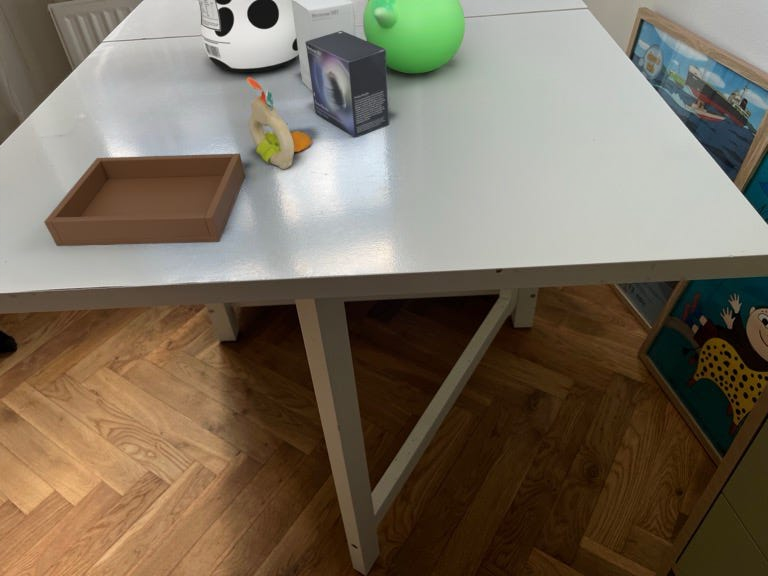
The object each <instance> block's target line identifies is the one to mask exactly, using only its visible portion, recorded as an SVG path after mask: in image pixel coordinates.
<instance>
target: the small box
mask: <svg viewBox="0 0 768 576" xmlns="http://www.w3.org/2000/svg"><path fill="white" fill-rule="evenodd" d="M305 43H306V48H307V56H308V63H309V70H310V76H311V84H312V91H313V92H312V91H311V92H312V98H313V105H314V113H315V114H316V115H318V116H319V117H321V118H323V119H324V120H326V121H327V122H329V123H331V124H332V125H334V126H336V127H337V128H339V129H341V130H342V131H344V132H345V133H347V134H349V135H350V136H352V137H353V138H357V137H359V136H362V135H366V134H367V133H370V132H373V131H376V130H379V129H381V128H384V127H386V126H389V125H390V117H389V116H390V115H389V102H388V99H389V98H388V81H387V80H388V79H387V66H386V49H385V48H382V47H380V46H377V45H375V44H373V43H370V42H368V41H367V40H366V39H363V38H361V37H358V36H353V35H351V34H348V33H346V32H344V31H339V32H335V33H332V34H329V35H325V36H322V37H319V38H316V39H312V40H309V41H306V42H305Z"/></svg>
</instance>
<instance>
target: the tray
mask: <svg viewBox="0 0 768 576" xmlns="http://www.w3.org/2000/svg"><path fill="white" fill-rule="evenodd" d="M245 177H246V172H245V170H244V165H243V160H242V156H241V153H211V154H210V153H209V154H183V155H182V154H179V155H178V154H177V155H147V156H145V155H144V156H112V157H96V158H95V160H94V161H93V162H92V163H91V165H89V167H88V168H87V169H86V171H85V172H84V173H83V174H82V175H81V176H80V178H79V179H78V180H77V181H76V183H75V184H74V185H73V186H72V187H71V188H70V190H69V191H68V192H67V194H66V195H65V196H64V197H63V198H62V200H61V201H60V202H59V203H58V204H57V206H55V208H54V209H53V210H52V212H51V213H50V214H49V215H48V216H47V218H46V219H45V220H44V221H43V223H44V224H45V226H46V228H47V230H48V232H49V234H50V235H51V237H52V239H53V241H54V243H55V245H56V246H59V247H60V246H94V245H95V246H97V245H100V246H101V245H135V244H139V245H141V244H174V243H175V244H178V243H217V242H218V243H219V242H221V238H222V236H223V233H224V230H225V228H226V225H227V223H228V221H229V218H230V215H231V213H232V210H233V208H234V205H235V203H236V200H237V197H238V195H239V192H240V191H241V187H242V185H243V182H244V180H245Z"/></svg>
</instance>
